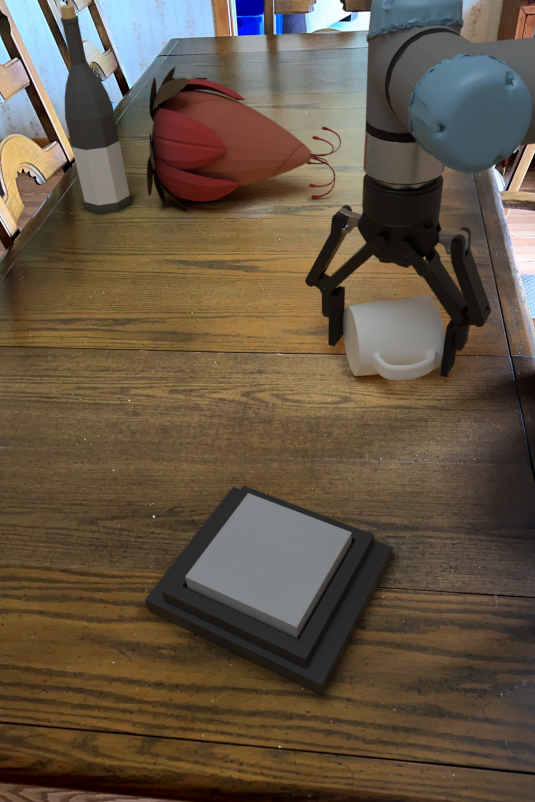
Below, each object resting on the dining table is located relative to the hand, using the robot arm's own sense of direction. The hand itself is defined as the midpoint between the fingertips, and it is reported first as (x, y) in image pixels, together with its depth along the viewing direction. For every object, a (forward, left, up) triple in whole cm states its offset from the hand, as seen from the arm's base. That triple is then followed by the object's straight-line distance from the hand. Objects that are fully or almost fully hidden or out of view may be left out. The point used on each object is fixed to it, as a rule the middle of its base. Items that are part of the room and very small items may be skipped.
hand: (389, 354), depth 81 cm
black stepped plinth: (-2, +32, -2) cm, 32 cm away
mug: (-1, 0, -2) cm, 2 cm away
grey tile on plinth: (-2, +32, +1) cm, 32 cm away
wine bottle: (+60, -23, -2) cm, 64 cm away
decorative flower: (+40, -36, -2) cm, 54 cm away
